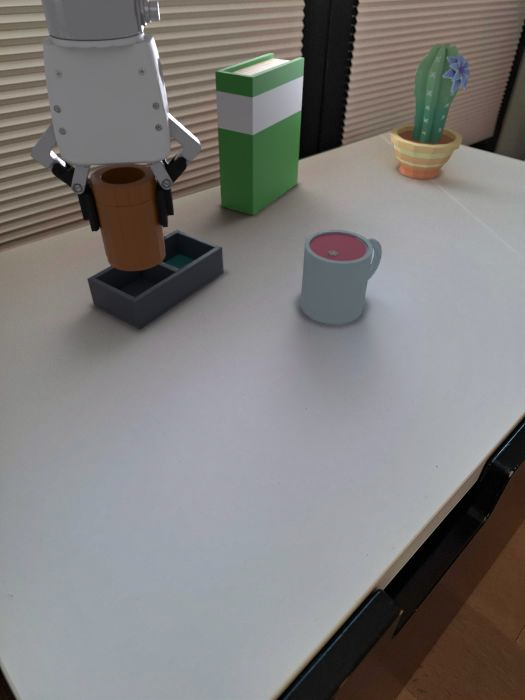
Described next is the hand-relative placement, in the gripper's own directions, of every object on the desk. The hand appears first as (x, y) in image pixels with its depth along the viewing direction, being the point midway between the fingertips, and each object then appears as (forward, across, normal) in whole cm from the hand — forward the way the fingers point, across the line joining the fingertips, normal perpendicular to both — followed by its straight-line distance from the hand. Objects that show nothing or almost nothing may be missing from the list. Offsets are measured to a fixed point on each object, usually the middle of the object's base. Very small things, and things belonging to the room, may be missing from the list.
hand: (130, 221), depth 53 cm
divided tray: (+20, -1, -17) cm, 26 cm away
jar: (+4, 0, 0) cm, 4 cm away
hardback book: (+20, -20, -49) cm, 57 cm away
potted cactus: (+20, -58, -58) cm, 84 cm away
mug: (+20, -28, -10) cm, 36 cm away
